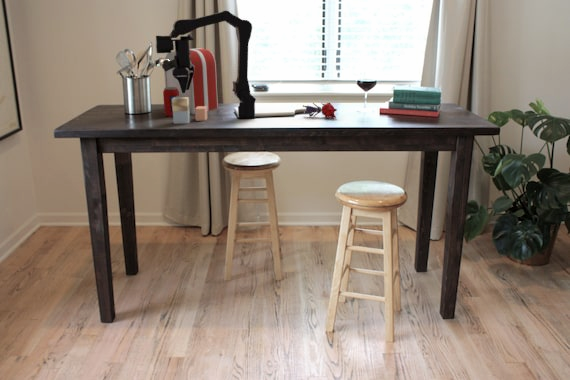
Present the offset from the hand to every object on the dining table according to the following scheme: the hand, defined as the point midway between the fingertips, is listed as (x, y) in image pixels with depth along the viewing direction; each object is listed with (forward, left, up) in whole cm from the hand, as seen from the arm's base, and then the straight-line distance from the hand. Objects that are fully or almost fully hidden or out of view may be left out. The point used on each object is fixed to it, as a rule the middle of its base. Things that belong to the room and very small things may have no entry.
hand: (185, 91), depth 249 cm
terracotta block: (-5, -4, -12) cm, 14 cm away
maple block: (+2, +3, -7) cm, 8 cm away
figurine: (-55, -5, -13) cm, 56 cm away
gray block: (+2, +3, -12) cm, 13 cm away
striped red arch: (+3, -29, -12) cm, 32 cm away
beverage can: (+9, -13, -12) cm, 20 cm away
